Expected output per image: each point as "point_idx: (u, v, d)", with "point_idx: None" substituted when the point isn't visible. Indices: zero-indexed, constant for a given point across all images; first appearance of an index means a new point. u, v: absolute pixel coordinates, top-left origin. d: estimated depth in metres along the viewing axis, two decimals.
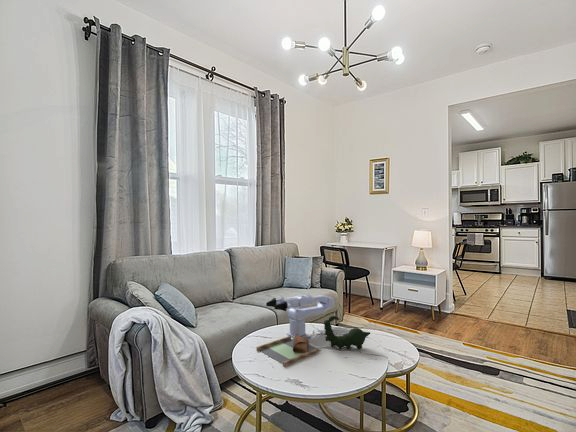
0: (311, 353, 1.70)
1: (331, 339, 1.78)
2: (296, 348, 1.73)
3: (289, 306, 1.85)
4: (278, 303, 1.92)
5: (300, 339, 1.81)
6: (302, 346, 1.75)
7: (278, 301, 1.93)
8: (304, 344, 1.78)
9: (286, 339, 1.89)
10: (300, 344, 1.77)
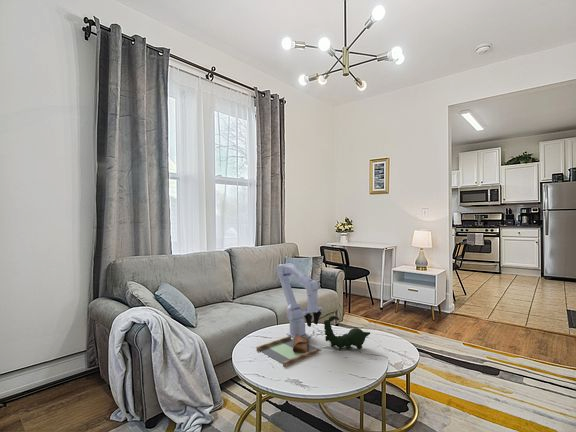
0: (311, 353, 1.70)
1: (331, 339, 1.78)
2: (296, 348, 1.73)
3: None
4: (310, 313, 1.85)
5: (300, 339, 1.81)
6: (302, 346, 1.75)
7: (310, 312, 1.84)
8: (304, 344, 1.78)
9: (286, 339, 1.89)
10: (300, 344, 1.77)
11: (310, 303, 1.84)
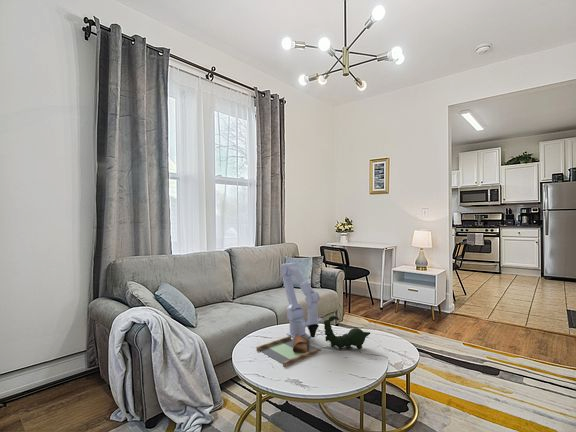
0: (311, 353, 1.70)
1: (331, 339, 1.78)
2: (296, 348, 1.73)
3: None
4: None
5: (300, 339, 1.81)
6: (302, 346, 1.75)
7: None
8: (304, 344, 1.78)
9: (286, 339, 1.89)
10: (300, 344, 1.77)
11: (310, 315, 1.84)
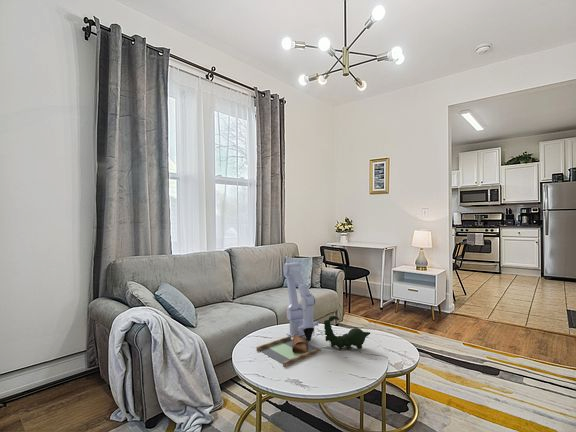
0: (311, 353, 1.70)
1: (331, 339, 1.78)
2: (295, 348, 1.72)
3: None
4: None
5: (299, 339, 1.81)
6: (301, 346, 1.75)
7: (305, 328, 1.82)
8: (303, 344, 1.78)
9: (286, 339, 1.89)
10: (299, 344, 1.76)
11: (306, 318, 1.82)
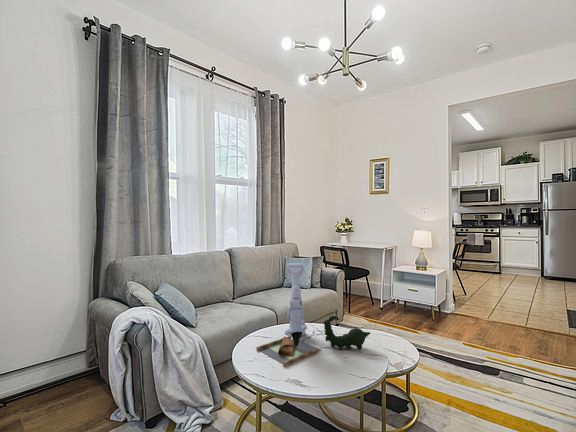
0: (311, 353, 1.70)
1: (331, 339, 1.78)
2: (281, 351, 1.69)
3: None
4: None
5: (287, 342, 1.78)
6: (288, 349, 1.71)
7: (293, 332, 1.76)
8: (290, 347, 1.74)
9: None
10: (286, 347, 1.73)
11: (293, 322, 1.76)
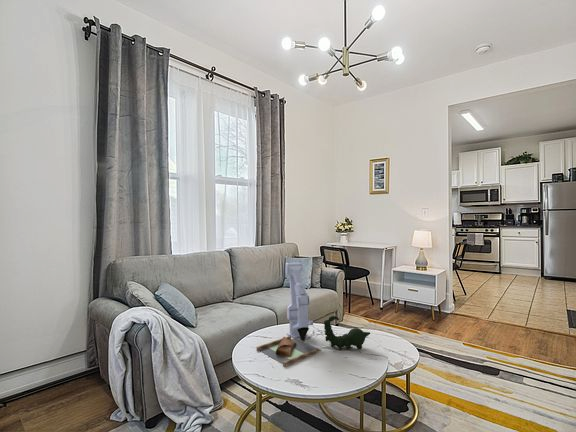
0: (311, 353, 1.70)
1: (331, 339, 1.78)
2: (279, 351, 1.69)
3: None
4: None
5: (285, 342, 1.77)
6: (286, 349, 1.71)
7: None
8: (288, 347, 1.74)
9: None
10: (284, 347, 1.73)
11: (300, 318, 1.79)
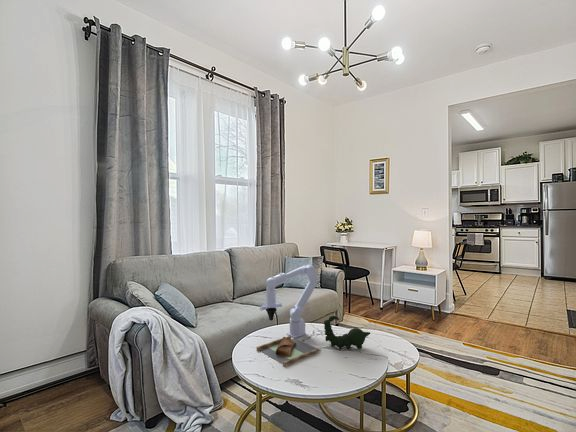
0: (311, 353, 1.70)
1: (331, 339, 1.78)
2: (279, 351, 1.69)
3: None
4: None
5: (285, 342, 1.77)
6: (286, 349, 1.71)
7: (267, 308, 1.95)
8: (288, 347, 1.74)
9: None
10: (284, 347, 1.73)
11: (268, 299, 1.95)
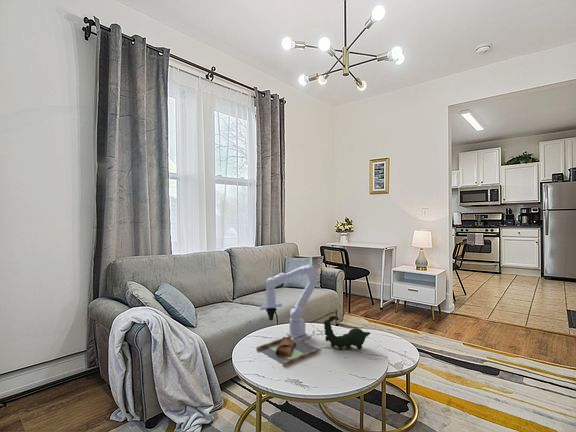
0: (311, 353, 1.70)
1: (331, 339, 1.78)
2: (279, 351, 1.69)
3: None
4: None
5: (285, 342, 1.77)
6: (286, 349, 1.71)
7: (267, 308, 1.95)
8: (288, 347, 1.74)
9: None
10: (284, 347, 1.73)
11: (268, 299, 1.95)
